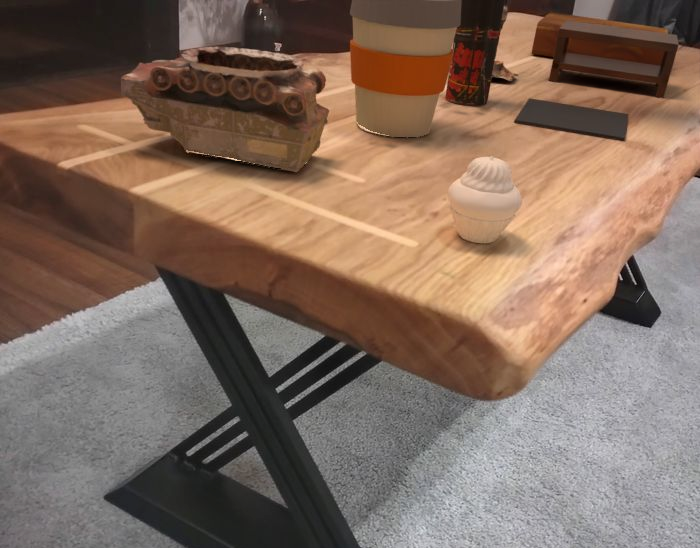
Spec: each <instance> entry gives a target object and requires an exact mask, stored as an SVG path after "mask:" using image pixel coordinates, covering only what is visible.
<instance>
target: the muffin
mask: <svg viewBox="0 0 700 548" xmlns="http://www.w3.org/2000/svg"><path fill="white" fill-rule="evenodd" d="M511 176H512V169H511V167H510V165H509V164H508V163H507V162H506V161H504V160H503V159H500V158H497V157H494V156H493V155H491V156H480V157H476V158H474V159H473V160H472V161H470V163H469V164H468V165H467V170H466V172H464V173H463V174H462V175H461V177H460V178H457V179H456V180H455V181H453V182H452V183H451V184H450V186H449V188H448V190H447V198H448V202H449V206H448V207H449V210H450V214H451V216H452V219H453V222H454V225H455V227H456V231H457V234H458V236H459V237H461V239H463V240H465V241H467V242H470V243H476V244H491V243H494V242H495V241H497V239H498V238H499V237H500V236H501V235H502V233H503V232H504V231H505V230H506V228H507V227H508V226H509V225H510V224H511V222H512V221H513V220H514V219H515V217H516V214H517V213H518V212H519V211H520V209H521V208H522V205H523V197H522V194H521V192H520V191H519V189H518V187H516V185H515V183H514V180H513V179H512V177H511Z"/></svg>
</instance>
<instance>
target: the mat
mask: <svg viewBox="0 0 700 548" xmlns="http://www.w3.org/2000/svg"><path fill="white" fill-rule="evenodd" d="M628 120H629V113H626V112H620V111H619V112H618V111H614V110H606V109H599V108H594V107H587V106H581V105H575V104H568V103H561V102H555V101H549V100H542V99H536V98H535V99H534V98H530V97H529V98H528V100H527V101H526V102H525V104H524V105H523V107H522V108H521V109H520V111H519V112H518V114H517V115H516V117H515V119H514V121H513V122H514V124H520V125H525V126H532V127H538V128H544V129H549V130H550V129H551V130H555V131H562V132H569V133H574V134H580V135H586V136H592V137H598V138H605V139H610V140H616V141H622V142H625V141H626V137H627V130H628V129H627V128H628V123H629V122H628Z"/></svg>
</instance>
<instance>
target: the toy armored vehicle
mask: <svg viewBox="0 0 700 548" xmlns="http://www.w3.org/2000/svg"><path fill="white" fill-rule="evenodd" d="M304 65H305V63H304V62H303V61H302V60H301V59H299V58H298V57H296V56H293V55H290V54H286V53H282V52H271V51H268V50H261V49H252V48H251V49H250V48H243V47H242V48H238V47H233V46H232V47H231V46H230V47H229V46H217V45H215V46H204V47H203V46H201V47H196V48H189V49H186V50H184V51H182V53H181V54H180V57H177V58H175V59H170V60H169V59H168V60H167V59H155V60H152V61H151V62H146V63H143V62H139V63H138V65H137V66H136V67H135V68H134V69H133V70H132V71H131V72H130V73H127V74H126V73H125V74H124V75H122V76H121V77H120V94H121V96H123V97H124V98H127V99H128V100H130V101H131V103H132V105H134V106H136V108H137V110H138V111H139V112H140V114H141V116H142V120H143V121H144V125H146V126H147V128H148V129H150V130H153V131H158V132H159V131H160V132H165V133H169V134H170V136H171V137H172V138H173V139H175V140H176V141H177V142H178V143H179V144H181V146H182V147H183V149H184V151H185V150H188V151H194V152H199V153H204V154H207V155H208V154H209V155H215V156H222V157H229V158H234V159H237V160H241V161H245V162H250V163H255V164H261V165H266V166H270V167H275V168H281V169H280V170H283V171H288V172H293V173H297V172H299V171H300V170H302V168H303V167H304V164H305V163H306V162H307V161H308V162H309V160H310V158H311V157H312V156H313V155H314V154H315V152H317V151H318V149H319V148H320V146H321V139H322V135H323V133H324V128H325V126H326V125H327V124H328V121H329V120H328V116H329V113H330V109H328V108H327V107H325V106H323V105H321V104H319V103H318V102H317V95H320V93H321V92H322V91H323V90H324V89H325V87H326V82H327V78H326V75H325V73H324V72H323V71H322V70H321V69H318V68H308V69H303V67H304ZM308 162H307V163H308ZM270 167H269V168H270ZM275 168H274V169H275Z"/></svg>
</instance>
